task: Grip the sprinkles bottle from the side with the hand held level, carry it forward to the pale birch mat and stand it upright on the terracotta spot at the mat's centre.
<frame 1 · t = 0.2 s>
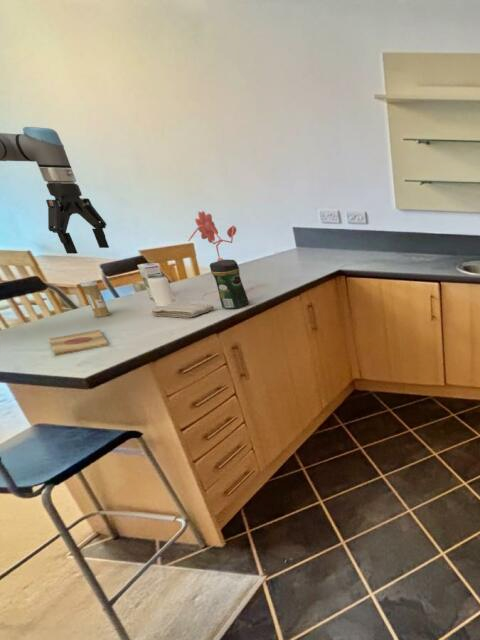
hand: (89, 250, 144), 24 cm above the counter, tool pointing down, fingers open, 13 cm apart
mat: (79, 343, 132), on the counter
can: (167, 306, 171), on the counter
red flower: (224, 295, 187), on the counter
syrup box: (160, 298, 181), on the counter
sprinkles bottle: (103, 315, 158), on the counter
coffee jar: (236, 306, 171), on the counter
washcloth: (184, 313, 162), on the counter
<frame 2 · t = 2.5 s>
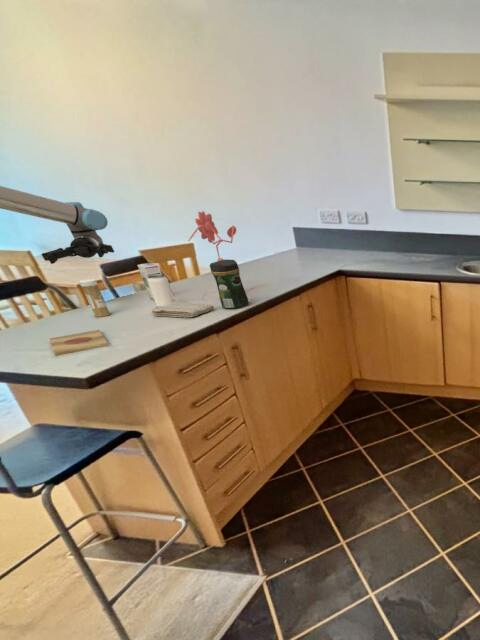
hand: (75, 256, 153), 21 cm above the counter, tool horizontal, fingers open, 13 cm apart
nothing on the counter moved.
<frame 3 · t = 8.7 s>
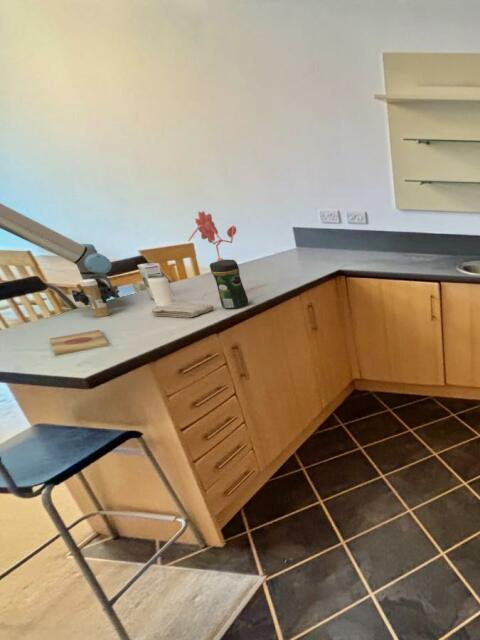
hand: (94, 300, 151), 7 cm above the counter, tool horizontal, fingers closed on sprinkles bottle, 4 cm apart
sprinkles bottle: (103, 315, 158), on the counter, touching gripper
everything else where it was.
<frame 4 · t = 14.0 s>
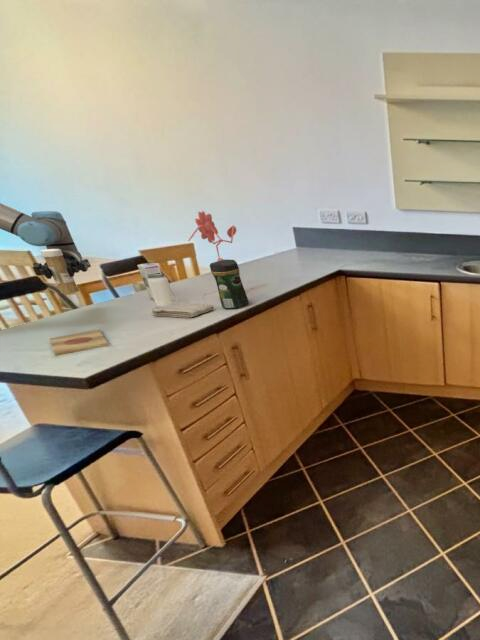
hand: (58, 273, 128), 21 cm above the counter, tool horizontal, fingers closed on sprinkles bottle, 4 cm apart
sprinkles bottle: (70, 292, 135), point 14 cm above the counter, touching gripper
everything else where it was.
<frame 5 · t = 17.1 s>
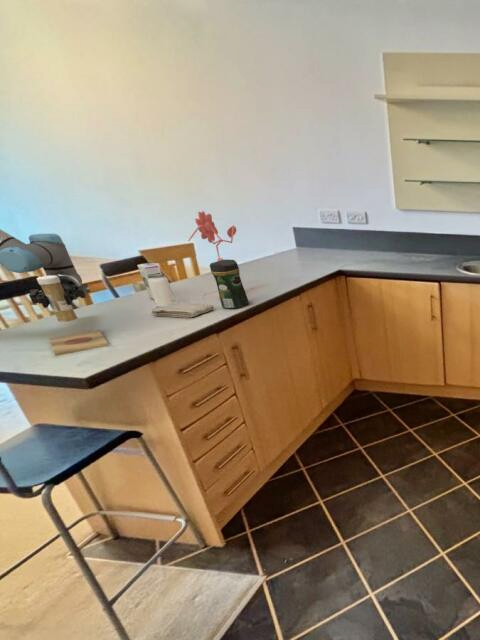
hand: (55, 301, 122), 15 cm above the counter, tool horizontal, fingers closed on sprinkles bottle, 4 cm apart
sprinkles bottle: (68, 320, 129), point 7 cm above the counter, touching gripper
everything else where it was.
when the fingers open (8 cm above the counter, at t = 19.3 s): sprinkles bottle stays where it is, resting on mat.
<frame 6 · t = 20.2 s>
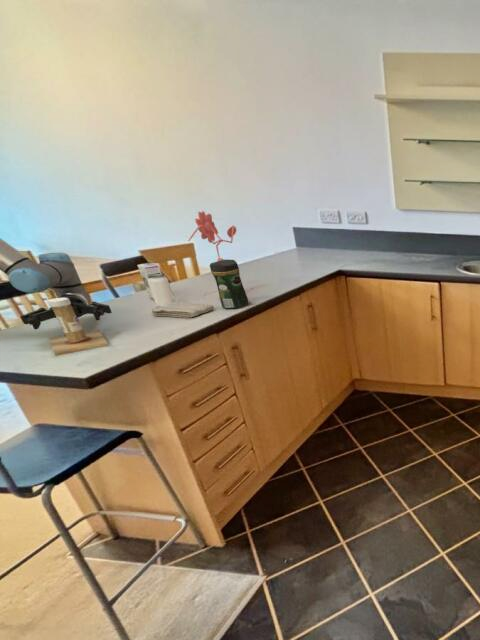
hand: (66, 320, 126), 8 cm above the counter, tool horizontal, fingers open, 13 cm apart
sprinkles bottle: (78, 341, 132), point 1 cm above the counter, touching mat
everything else where it was.
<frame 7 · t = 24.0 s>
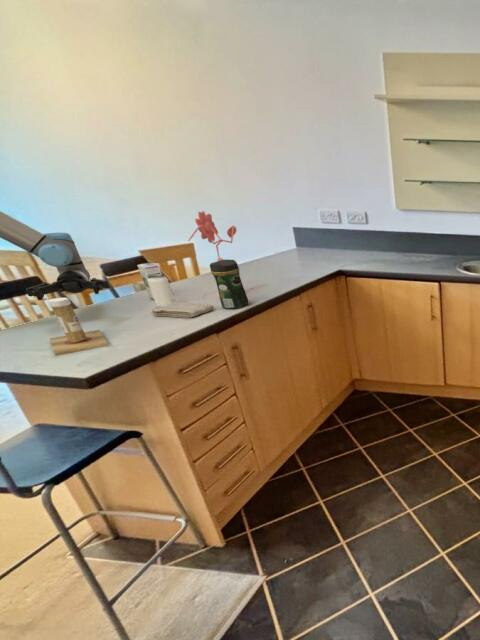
hand: (67, 293, 136), 13 cm above the counter, tool horizontal, fingers open, 13 cm apart
nothing on the counter moved.
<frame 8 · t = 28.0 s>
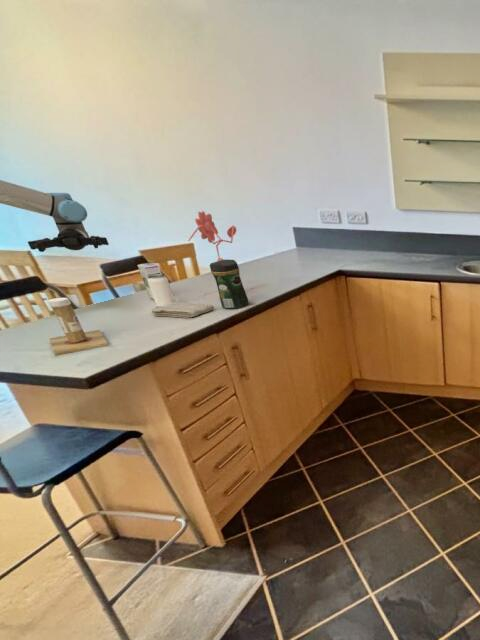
hand: (68, 246, 143), 26 cm above the counter, tool horizontal, fingers open, 13 cm apart
nothing on the counter moved.
at the end: sprinkles bottle 0.0 cm off-centre on the mat, point 0.7 cm above the mat's base; sprinkles bottle tilted 0°; the gripper is holding nothing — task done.
